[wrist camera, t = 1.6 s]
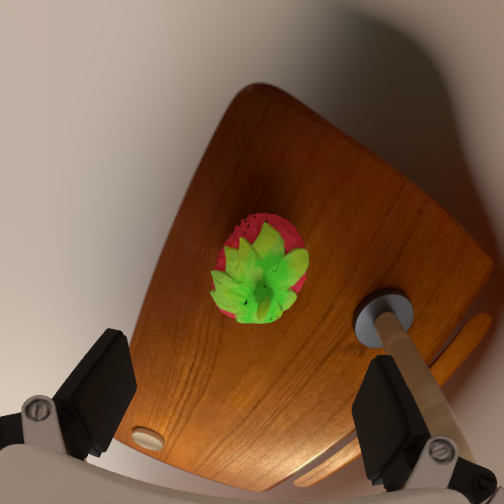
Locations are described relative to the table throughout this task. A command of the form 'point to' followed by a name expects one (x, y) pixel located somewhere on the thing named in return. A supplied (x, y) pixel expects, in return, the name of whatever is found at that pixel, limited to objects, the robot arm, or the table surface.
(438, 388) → the post
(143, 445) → the puck
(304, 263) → the strawberry
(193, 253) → the table surface
